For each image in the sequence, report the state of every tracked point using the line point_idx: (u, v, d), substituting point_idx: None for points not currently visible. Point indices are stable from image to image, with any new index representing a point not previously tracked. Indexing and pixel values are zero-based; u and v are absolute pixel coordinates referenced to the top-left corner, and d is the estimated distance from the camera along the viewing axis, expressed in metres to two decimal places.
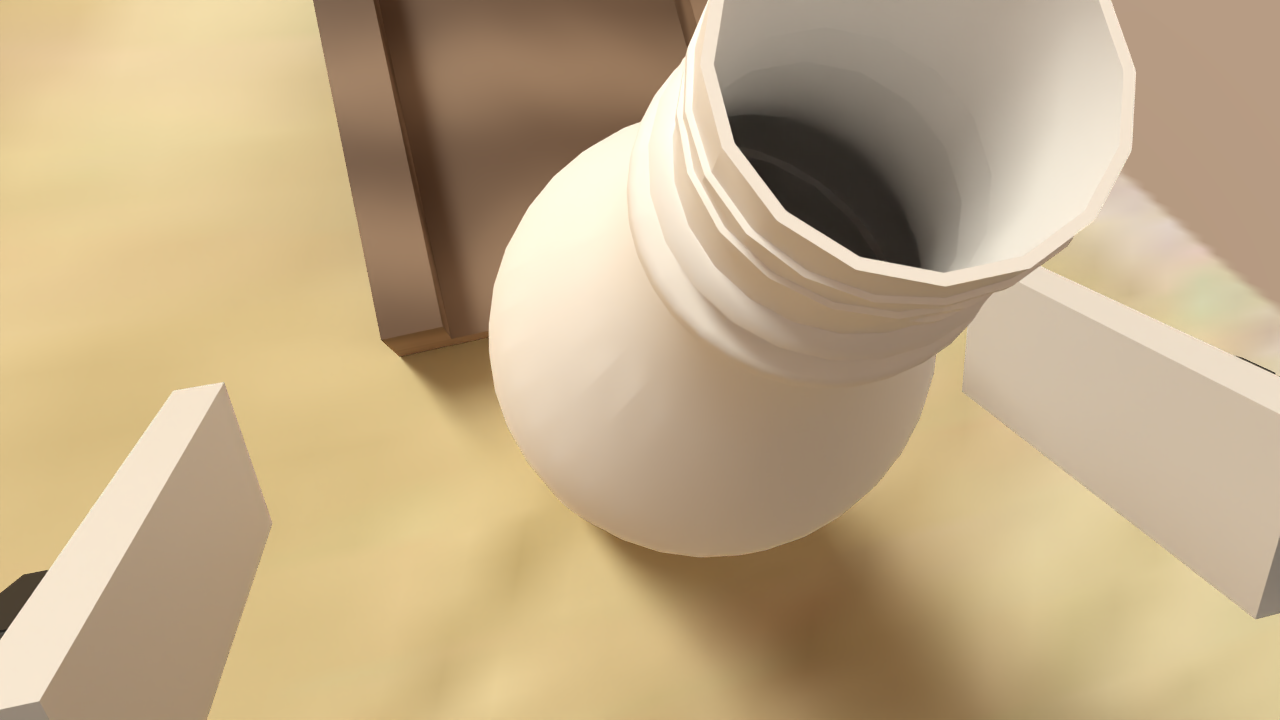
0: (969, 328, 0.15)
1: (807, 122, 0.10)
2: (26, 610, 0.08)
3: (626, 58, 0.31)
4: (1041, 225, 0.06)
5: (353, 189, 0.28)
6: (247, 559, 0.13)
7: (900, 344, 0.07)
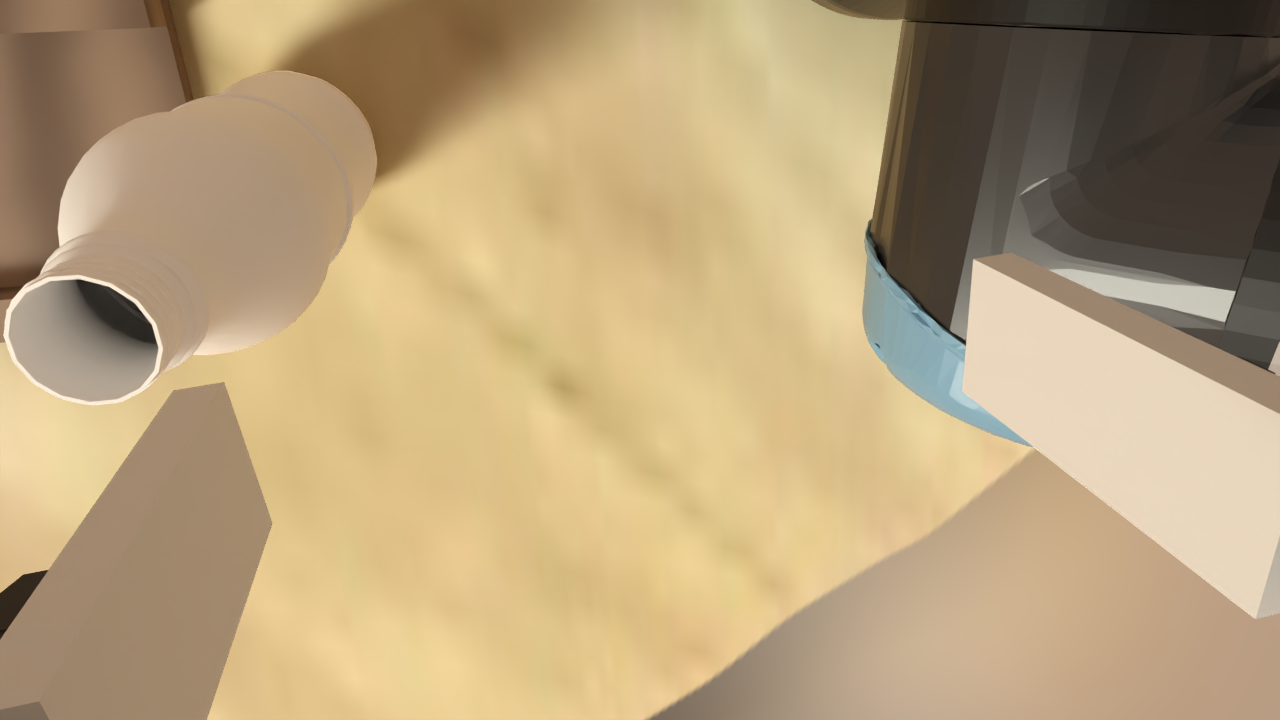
0: (969, 328, 0.15)
1: None
2: (26, 610, 0.08)
3: None
4: None
5: None
6: (246, 559, 0.13)
7: (188, 309, 0.19)
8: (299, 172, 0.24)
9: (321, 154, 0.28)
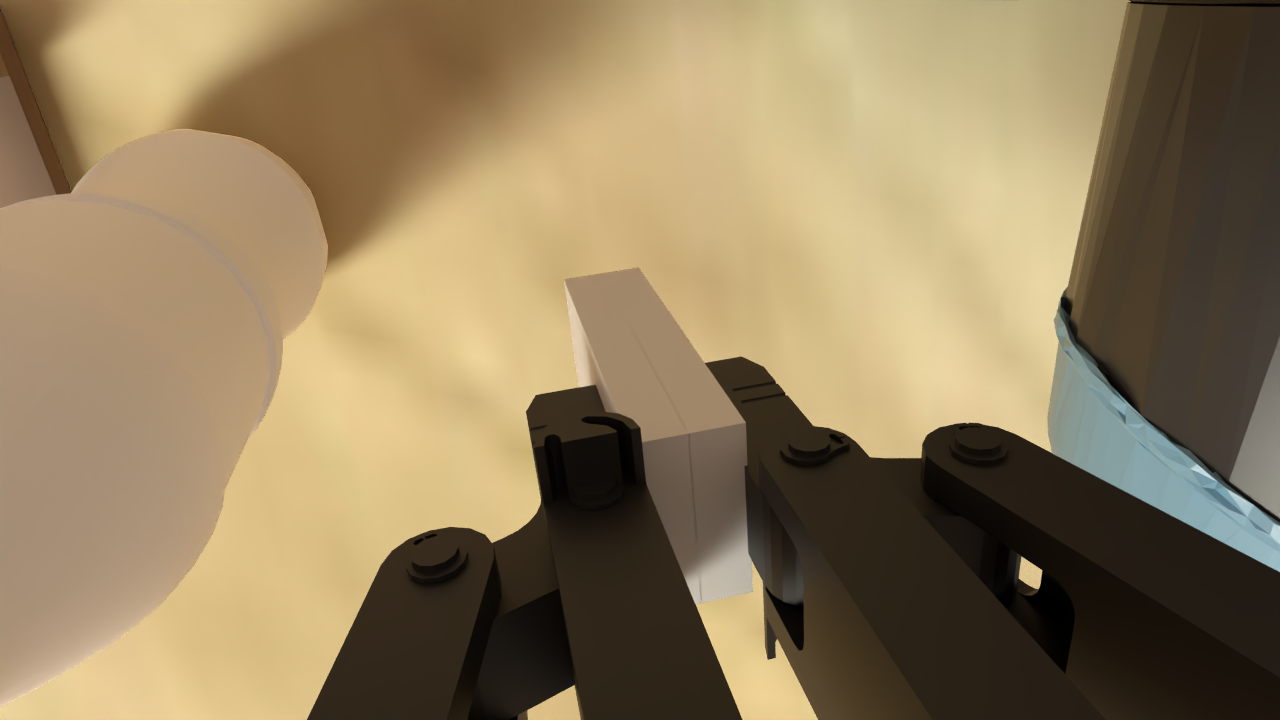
0: None
1: None
2: (614, 394, 0.11)
3: None
4: None
5: None
6: None
7: None
8: (149, 352, 0.13)
9: (212, 286, 0.17)
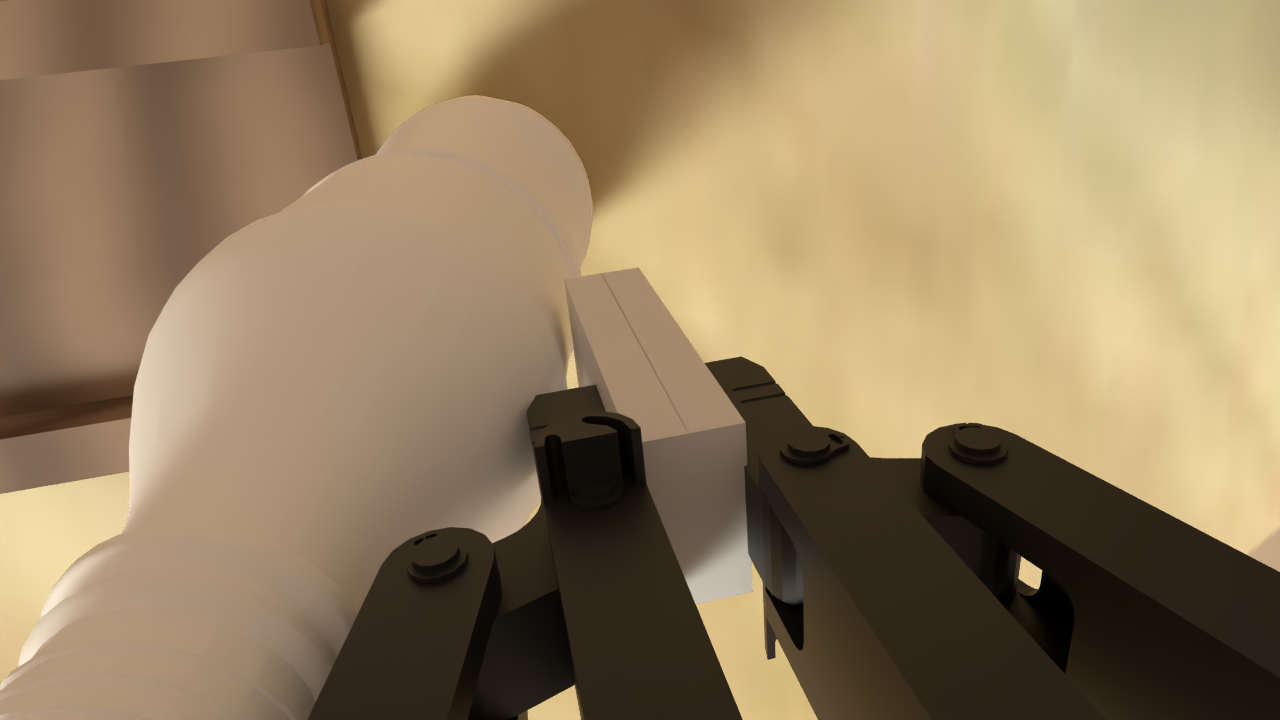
0: None
1: None
2: (615, 394, 0.11)
3: (49, 154, 0.26)
4: (216, 717, 0.07)
5: None
6: None
7: None
8: (524, 302, 0.14)
9: (544, 244, 0.17)
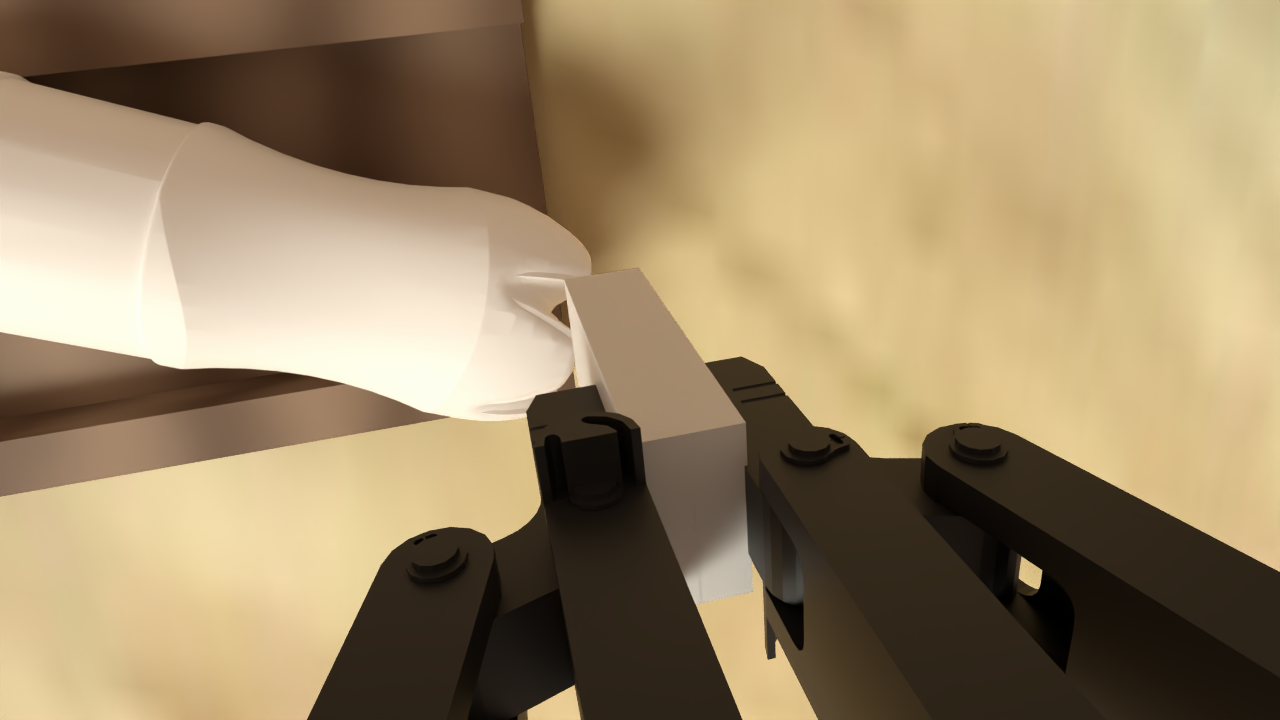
0: None
1: None
2: (615, 394, 0.11)
3: (248, 130, 0.27)
4: None
5: (434, 417, 0.30)
6: None
7: None
8: None
9: (82, 300, 0.21)
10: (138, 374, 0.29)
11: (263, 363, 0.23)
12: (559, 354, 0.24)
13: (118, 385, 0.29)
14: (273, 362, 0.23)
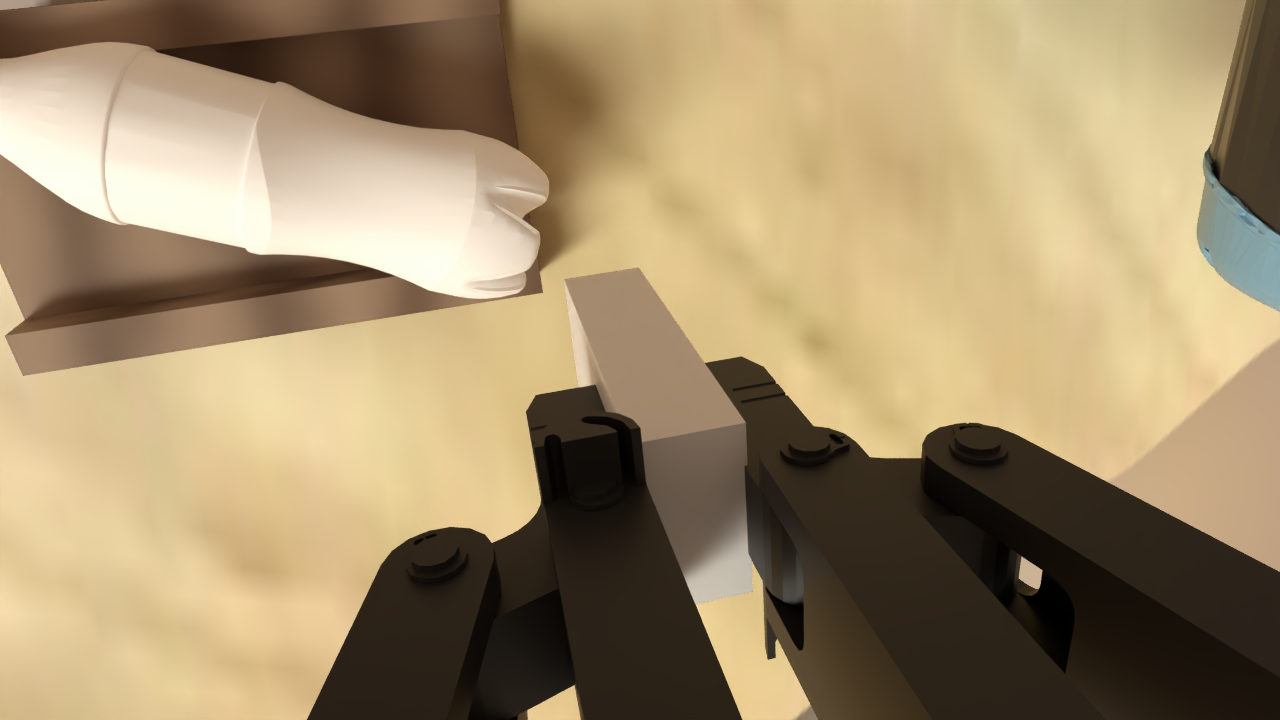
0: None
1: None
2: (615, 395, 0.11)
3: (303, 91, 0.37)
4: None
5: (436, 307, 0.41)
6: None
7: None
8: (88, 169, 0.30)
9: (203, 197, 0.31)
10: (217, 274, 0.40)
11: (320, 248, 0.34)
12: (525, 244, 0.35)
13: (203, 282, 0.40)
14: (327, 248, 0.34)
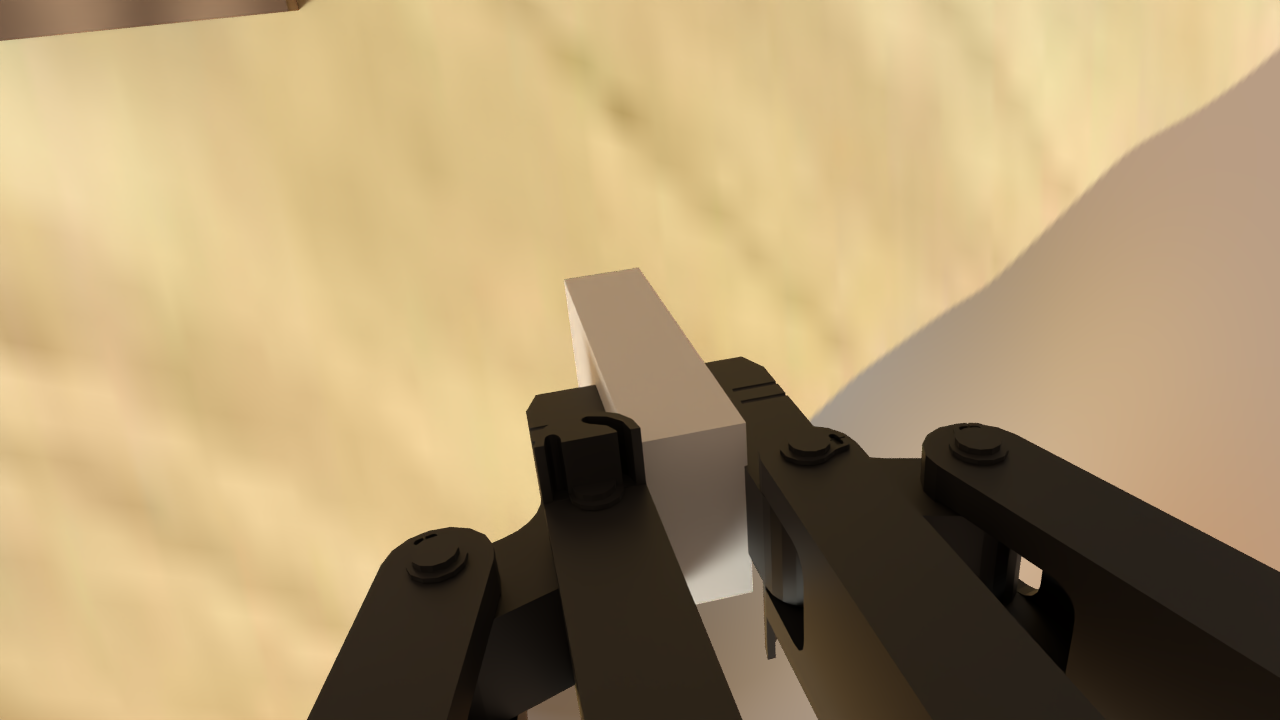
0: None
1: None
2: (615, 395, 0.11)
3: None
4: None
5: (169, 21, 0.38)
6: None
7: None
8: None
9: None
10: None
11: None
12: None
13: None
14: None
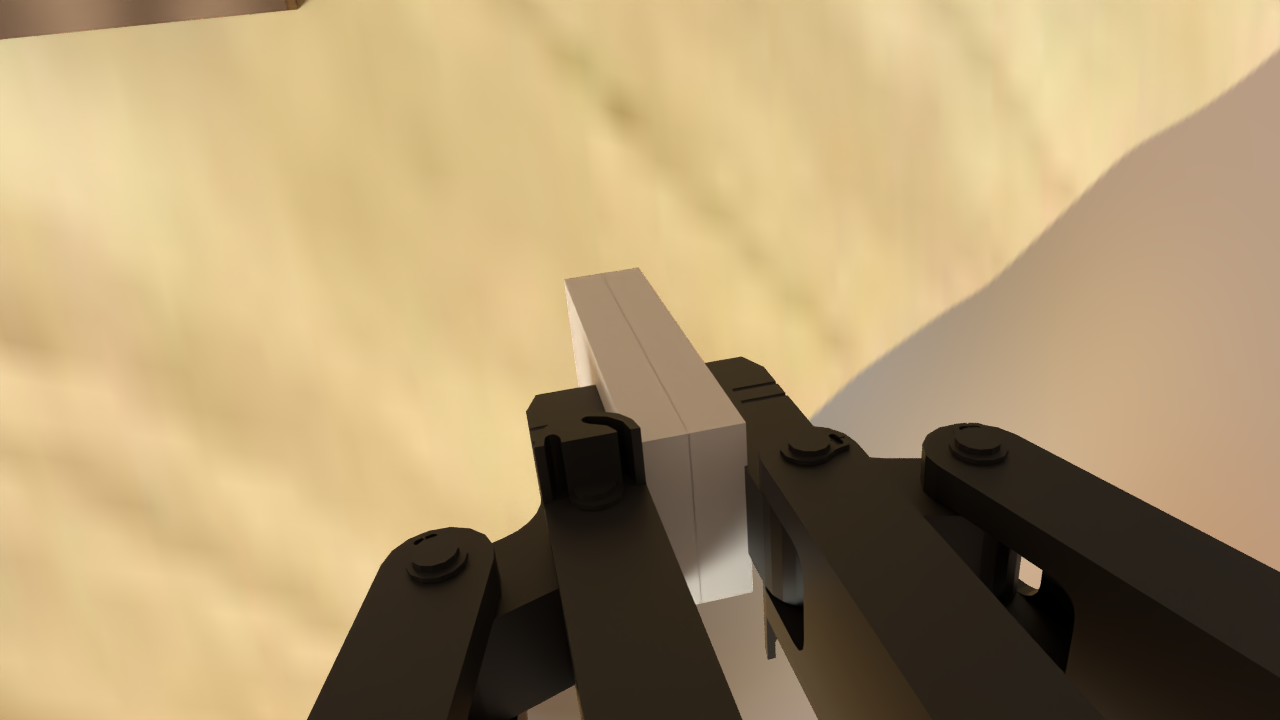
0: None
1: None
2: (615, 394, 0.11)
3: None
4: None
5: (168, 20, 0.38)
6: None
7: None
8: None
9: None
10: None
11: None
12: None
13: None
14: None
